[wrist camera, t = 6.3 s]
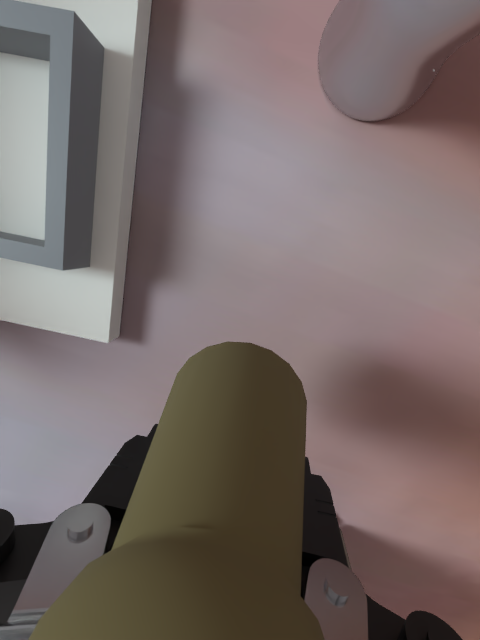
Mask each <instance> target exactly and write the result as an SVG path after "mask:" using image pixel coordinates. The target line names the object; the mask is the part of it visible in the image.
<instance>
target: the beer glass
mask: <svg viewBox="0 0 480 640" xmlns="http://www.w3.org/2000/svg"><path fill="white" fill-rule="evenodd" d="M479 34H480V0H339V2H338V4H337V5H336V7H335V9H334V10H333V12H332V14H331V15H330V17H329V19H328V21H327V23H326V26H325V28H324V31H323V34H322V37H321V40H320V45H319V51H318V69H319V76H320V80H321V84H322V86H323V89H324V91H325V93H326V95H327V97H328V98H329V100H330V101H331V102H332V104H333V105H334V106H335V107H336V108H337V109H338V110H339V111H341V112H342V113H344V114H345V115H347V116H349V117H351V118H354V119H357V120H361V121H380V120H385V119H388V118H391V117H394V116H396V115H398V114H400V113H402V112H403V111H405V110H407V109H408V108H409V107H411V106H412V105H413V104H414V103H415V102H416V101H417V100H418V99H419V98H420V97H421V96H422V95H423V94H424V93H425V91H426V90H427V89H428V87H429V86H430V84H431V83H432V81H433V80H434V78H435V77H436V75H437V73H438V72H439V70H440V68H441V67H442V65H443V63H444V62H445V61H446V59H447V58H448V57H449V56H450V55H451V54H453V53H454V52H455V51H456V50H457V49H459V48H460V47H461V46H463V45H464V44H466V43H467V42H469V41H470V40H471V39H473V38H474V37H476V36H477V35H479Z"/></svg>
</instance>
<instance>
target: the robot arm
mask: <svg viewBox="0 0 480 640" xmlns="http://www.w3.org/2000/svg"><path fill="white" fill-rule="evenodd" d="M157 426H158V424H155V425H154V427H153V428H152V430H151V431H150V433H149V435H148V436H147V437H144V436H140V435H136V436H135V437H133V438H132V439H130V440H129V441H127V442H126V443H125V444H124V445H123V446H122V448H121V449H120V451H119V452H118V453H117V456H115V458H114V459H113V460H112V462H111V463H110V466H108V467H107V469H106V470H105V472H104V473H103V474H102V476H101V477H100V478H99V480H98V481H97V483H96V484H95V485H94V487H93V488H92V490H91V491H90V492H89V494H88V495H87V497H86V498H85V499H84V501H83V502H82V503H81V504H79V505H76V506H73V507H71V508H69V509H67V510H65V511H64V512H63V513H61V514H60V515H59V516H58V517H57V518H56V519H55V520H54V521H52V522H48V523H40V524H27V525H14V518H13V516H12V514H11V513H10V512H8V511H7V510H4V509H0V640H28V639H29V637H30V636H31V634H32V632H33V631H34V629H35V627H36V625H37V623H38V620H39V619H40V618H41V617H42V616H43V615H44V613H45V612H46V611H47V610H48V609H49V608H50V606H51V605H52V604H53V603H54V602H55V601H56V599H57V598H58V597H59V596H60V595H61V594H62V593H63V591H64V590H65V589H66V588H67V587H68V586H69V585H70V584H71V582H72V581H73V580H74V579H75V578H76V577H77V576H78V574H79V573H80V572H81V571H82V570H83V569H84V568H85V567H86V565H87V564H88V563H90V562H92V561H93V560H95V559H97V558H99V557H100V556H102V555H104V554H106V553H108V552H109V551H111V549H112V547H113V544H114V541H115V539H116V536H117V533H118V531H119V528H120V525H121V523H122V520H123V517H124V515H125V512H126V509H127V507H128V504H129V501H130V499H131V496H132V493H133V491H134V488H135V485H136V483H137V480H138V477H139V475H140V472H141V469H142V467H143V464H144V461H145V459H146V456H147V453H148V451H149V448H150V445H151V443H152V440H153V437H154V434H155V432H156V429H157ZM301 597H302V599H303V600H304V601H305V603H306V604H307V605H308V607H309V608H310V609H311V611H312V612H313V613H314V615H315V616H316V617H317V619H318V621H319V624H320V627H321V630H322V633H323V636H324V639H325V640H462V639H461V637H460V636H459V635H458V634H457V633H456V632H455V631H454V630H453V629H452V628H451V627H450V626H449V625H448V624H447V623H445V622H444V621H443V620H441V619H440V618H438V617H437V616H435V615H433V614H431V613H428V612H425V611H414V612H412V613H411V614H409V616H408V617H407V619H406V620H405V619H403V618H401V617H400V616H398V615H396V614H395V613H393V612H391V611H389V610H388V609H386V608H384V607H383V606H381V605H379V604H378V603H376V602H375V601H373V600H372V599H371V598H370V597H369V596H368V595H367V594H365V591H364V588H363V586H362V584H361V582H360V581H359V579H358V578H357V576H356V575H355V574H354V573H353V572H352V571H351V570H350V569H349V567H348V563H347V559H346V555H345V550H344V546H343V542H342V538H341V534H340V530H339V525H338V521H337V518H336V513H335V509H334V506H333V500H332V496H331V492H330V489H329V487H328V486H327V484H326V483H325V481H324V480H323V478H322V477H321V476H319V475H314V474H311V472H310V466H309V460H308V458H307V457H305V473H304V505H303V537H302V569H301Z"/></svg>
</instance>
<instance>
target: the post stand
mask: <svg viewBox="0 0 480 640" xmlns="http://www.w3.org/2000/svg"><path fill="white" fill-rule="evenodd" d="M151 4H152V0H0V320H2V321H7V322H12V323H16V324H21V325H26V326H30V327H35V328H40V329H44V330H49V331H54V332H58V333H63V334H67V335H72V336H77V337H81V338H86V339H91V340H95V341H100V342H105V343H109V342H111V341H113V340H114V339H116V338H117V337H119V335H120V324H121V314H122V304H123V293H124V283H125V273H126V262H127V252H128V242H129V231H130V221H131V211H132V201H133V190H134V180H135V170H136V159H137V149H138V139H139V128H140V118H141V108H142V97H143V87H144V77H145V66H146V56H147V46H148V35H149V25H150V15H151Z"/></svg>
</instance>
